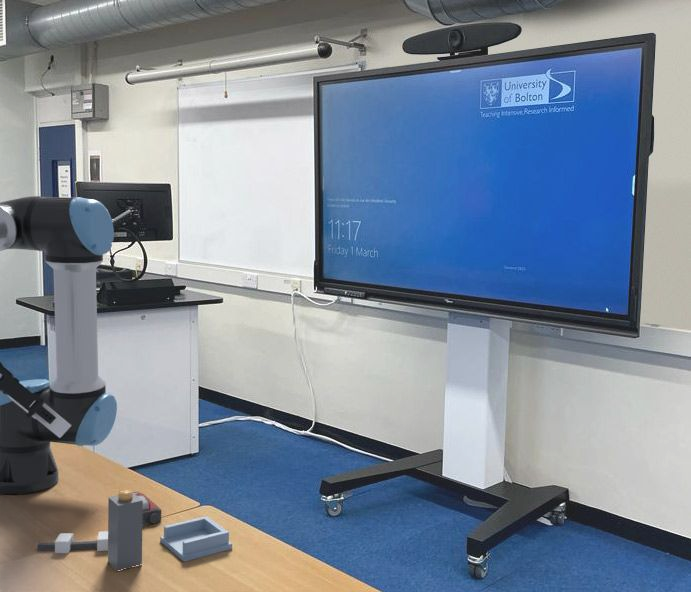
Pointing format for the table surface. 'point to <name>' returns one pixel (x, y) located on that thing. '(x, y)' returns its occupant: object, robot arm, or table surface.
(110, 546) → the grey post with ball
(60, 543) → the cable run
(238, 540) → the table surface
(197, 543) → the tray
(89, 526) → the table surface
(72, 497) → the table surface
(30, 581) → the table surface
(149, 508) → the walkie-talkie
